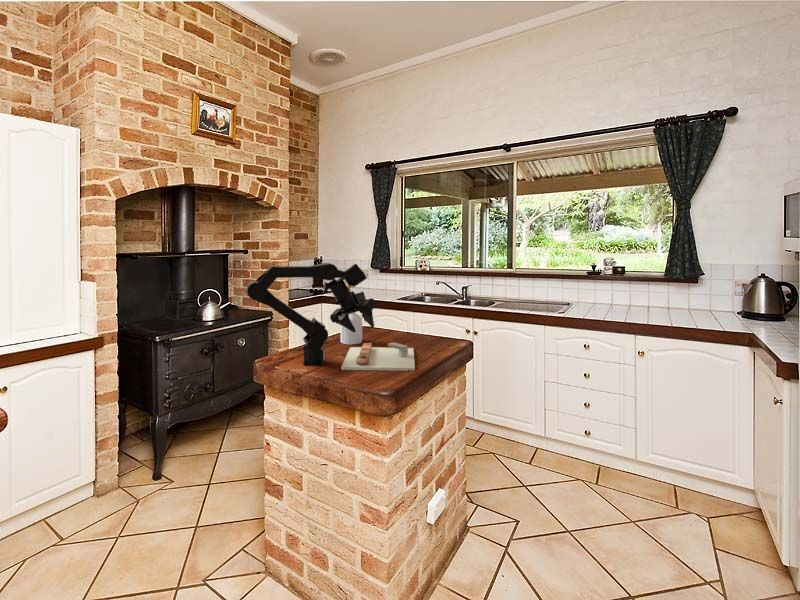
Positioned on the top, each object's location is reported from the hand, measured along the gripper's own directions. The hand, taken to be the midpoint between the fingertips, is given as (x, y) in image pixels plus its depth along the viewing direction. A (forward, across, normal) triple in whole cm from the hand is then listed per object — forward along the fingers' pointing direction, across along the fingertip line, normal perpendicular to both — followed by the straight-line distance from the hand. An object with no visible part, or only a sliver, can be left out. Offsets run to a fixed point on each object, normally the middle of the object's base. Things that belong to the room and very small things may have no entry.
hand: (364, 329), depth 166 cm
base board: (+12, -2, +3) cm, 12 cm away
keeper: (+16, -6, -2) cm, 17 cm away
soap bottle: (+10, +22, -12) cm, 27 cm away
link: (+8, +2, +5) cm, 10 cm away
